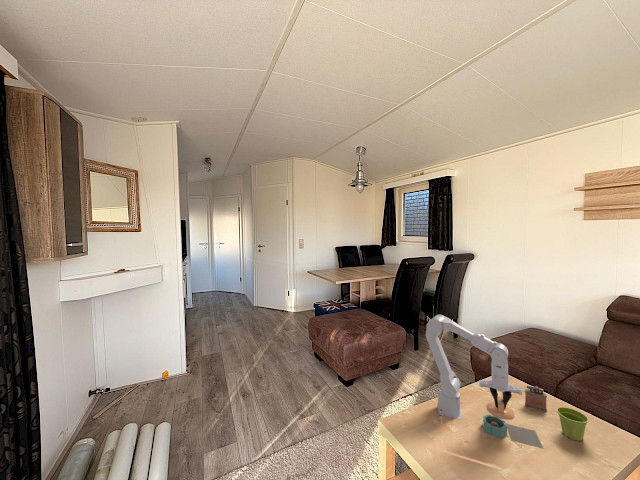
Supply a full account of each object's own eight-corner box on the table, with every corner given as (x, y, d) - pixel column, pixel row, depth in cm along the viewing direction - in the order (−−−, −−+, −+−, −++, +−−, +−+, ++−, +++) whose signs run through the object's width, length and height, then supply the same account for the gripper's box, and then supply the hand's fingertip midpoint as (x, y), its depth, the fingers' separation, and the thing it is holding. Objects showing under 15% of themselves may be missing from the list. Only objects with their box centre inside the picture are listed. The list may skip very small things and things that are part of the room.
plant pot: (563, 441, 103) (563, 419, 103) (552, 424, 112) (552, 404, 112) (594, 447, 100) (594, 424, 100) (580, 430, 109) (580, 409, 109)
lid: (488, 415, 106) (488, 403, 106) (485, 402, 115) (484, 391, 115) (517, 422, 102) (517, 410, 102) (511, 407, 110) (511, 396, 110)
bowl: (484, 434, 107) (484, 424, 107) (482, 422, 114) (482, 412, 114) (508, 440, 104) (508, 430, 104) (504, 427, 111) (504, 418, 111)
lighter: (546, 408, 122) (546, 387, 122) (547, 413, 119) (547, 391, 119) (524, 403, 127) (524, 382, 127) (525, 407, 124) (525, 386, 124)
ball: (491, 430, 108) (490, 423, 108) (489, 426, 111) (489, 419, 111) (499, 433, 107) (499, 425, 107) (498, 428, 110) (498, 421, 110)
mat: (511, 441, 103) (511, 440, 103) (506, 425, 112) (506, 423, 112) (543, 450, 99) (543, 448, 99) (535, 432, 108) (535, 430, 108)
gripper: (480, 375, 108) (480, 408, 108) (524, 383, 101) (524, 418, 101) (478, 367, 114) (478, 398, 114) (519, 374, 108) (519, 407, 108)
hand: (500, 407), depth 108 cm, fingers closed on lid
